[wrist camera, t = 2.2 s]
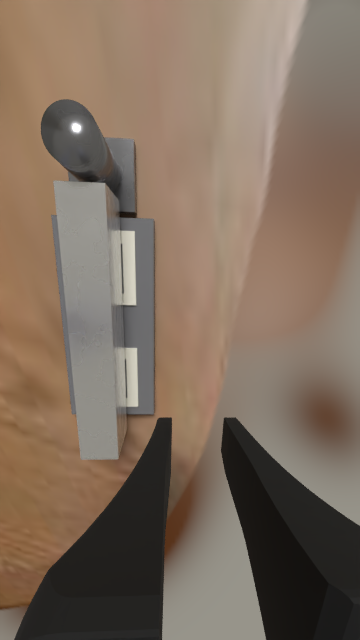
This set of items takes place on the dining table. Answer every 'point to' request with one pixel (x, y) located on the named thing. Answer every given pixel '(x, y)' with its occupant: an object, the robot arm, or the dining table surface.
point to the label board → (128, 312)
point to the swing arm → (94, 313)
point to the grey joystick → (90, 151)
